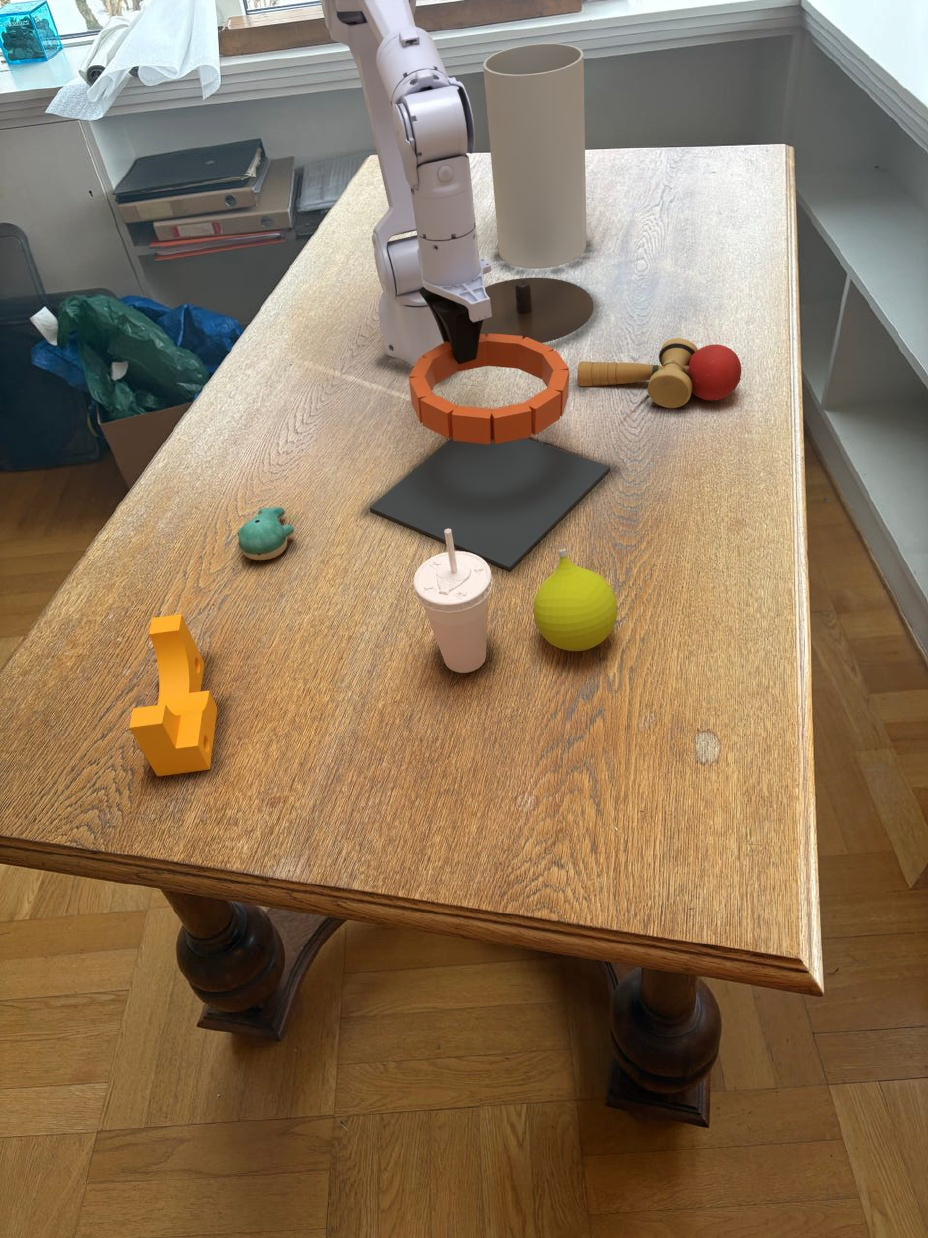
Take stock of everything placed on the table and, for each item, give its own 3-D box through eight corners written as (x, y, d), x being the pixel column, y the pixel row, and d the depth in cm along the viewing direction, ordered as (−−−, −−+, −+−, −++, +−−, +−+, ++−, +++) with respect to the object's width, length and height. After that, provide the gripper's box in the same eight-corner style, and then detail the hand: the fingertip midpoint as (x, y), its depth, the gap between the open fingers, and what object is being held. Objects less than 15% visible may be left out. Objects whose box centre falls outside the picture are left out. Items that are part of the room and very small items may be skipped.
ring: (382, 404, 97) (378, 378, 95) (486, 344, 105) (485, 319, 102) (493, 463, 89) (493, 436, 87) (597, 393, 97) (599, 367, 94)
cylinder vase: (601, 240, 137) (600, 45, 119) (560, 279, 130) (553, 78, 112) (526, 228, 142) (515, 40, 125) (483, 265, 135) (464, 71, 118)
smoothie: (510, 637, 84) (497, 514, 74) (488, 691, 80) (471, 569, 70) (443, 625, 86) (421, 504, 76) (418, 677, 82) (391, 557, 72)
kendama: (575, 417, 109) (737, 411, 102) (568, 363, 105) (735, 354, 99) (591, 391, 115) (745, 384, 108) (585, 340, 111) (744, 329, 104)
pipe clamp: (209, 769, 77) (184, 720, 73) (157, 776, 78) (129, 727, 73) (223, 661, 86) (201, 611, 81) (176, 667, 86) (152, 618, 81)
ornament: (558, 600, 87) (553, 515, 80) (630, 623, 84) (632, 537, 77) (521, 652, 83) (513, 568, 76) (596, 678, 80) (594, 593, 73)
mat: (370, 511, 99) (369, 507, 99) (473, 423, 108) (473, 419, 108) (510, 571, 90) (509, 567, 90) (610, 470, 99) (610, 466, 99)
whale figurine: (233, 566, 95) (222, 537, 92) (249, 519, 100) (239, 490, 97) (290, 564, 94) (280, 535, 92) (303, 516, 99) (294, 487, 97)
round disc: (428, 331, 124) (423, 299, 121) (508, 272, 133) (506, 241, 130) (542, 364, 115) (541, 330, 112) (620, 299, 124) (620, 266, 121)
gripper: (515, 243, 87) (525, 374, 96) (455, 193, 97) (470, 316, 106) (444, 264, 85) (461, 395, 95) (391, 211, 95) (411, 334, 105)
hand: (462, 355), depth 100 cm, fingers closed on ring, 2 cm apart
